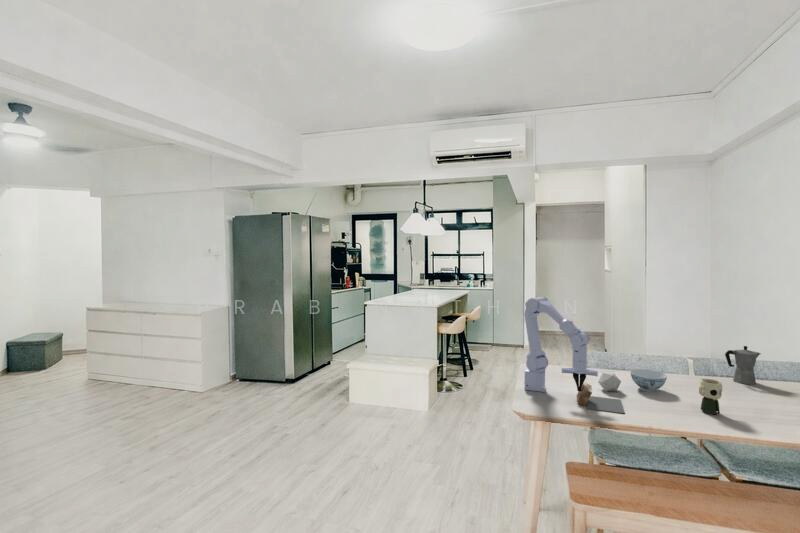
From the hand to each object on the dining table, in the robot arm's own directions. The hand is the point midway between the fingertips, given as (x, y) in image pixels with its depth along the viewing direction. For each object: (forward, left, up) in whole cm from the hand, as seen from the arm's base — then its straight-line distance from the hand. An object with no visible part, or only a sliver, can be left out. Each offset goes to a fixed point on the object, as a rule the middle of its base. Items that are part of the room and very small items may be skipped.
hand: (579, 390), depth 187 cm
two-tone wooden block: (+1, 0, -4) cm, 4 cm away
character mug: (+50, +6, -5) cm, 50 cm away
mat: (+10, 0, -5) cm, 11 cm away
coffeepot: (+76, +57, -5) cm, 95 cm away
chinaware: (+31, +28, -5) cm, 42 cm away
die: (+14, +21, -5) cm, 26 cm away
